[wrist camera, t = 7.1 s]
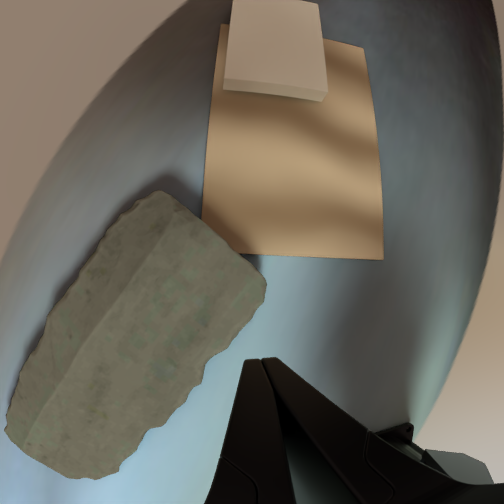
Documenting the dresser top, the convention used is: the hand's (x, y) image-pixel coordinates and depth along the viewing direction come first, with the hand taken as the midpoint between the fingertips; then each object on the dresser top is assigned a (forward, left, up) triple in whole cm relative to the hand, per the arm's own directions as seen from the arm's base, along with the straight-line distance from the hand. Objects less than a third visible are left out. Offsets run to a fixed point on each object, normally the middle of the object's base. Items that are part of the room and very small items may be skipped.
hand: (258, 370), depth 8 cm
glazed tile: (-4, -15, -10) cm, 18 cm away
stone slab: (+8, +3, -11) cm, 14 cm away
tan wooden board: (-5, -13, -11) cm, 18 cm away
